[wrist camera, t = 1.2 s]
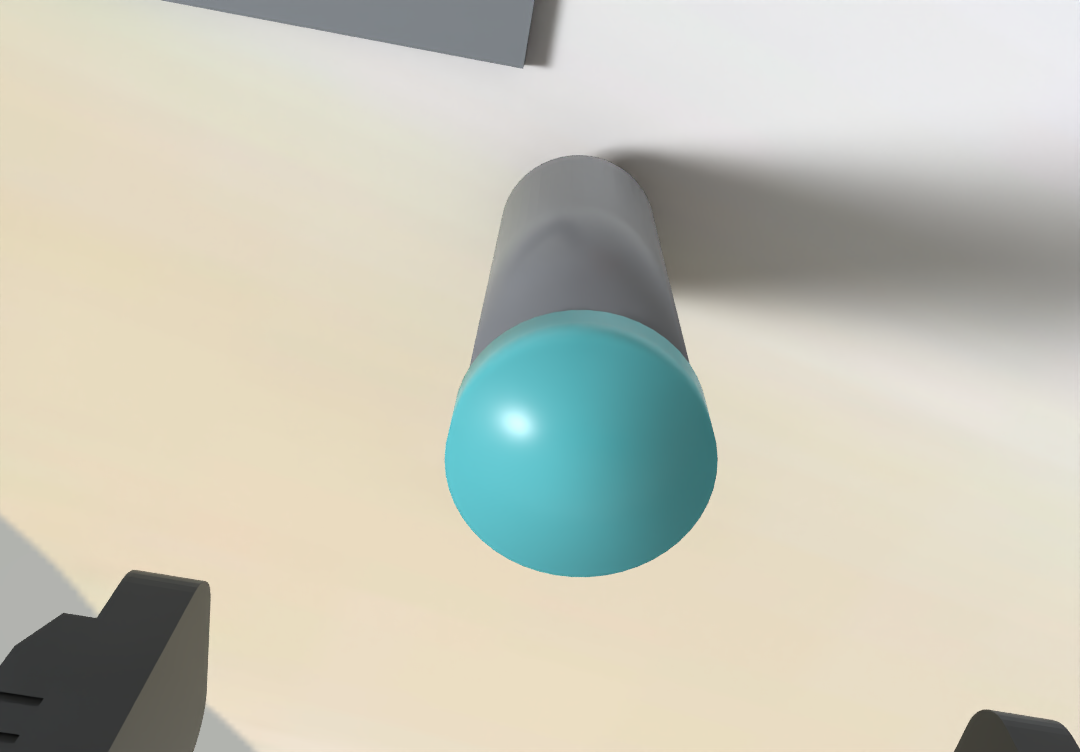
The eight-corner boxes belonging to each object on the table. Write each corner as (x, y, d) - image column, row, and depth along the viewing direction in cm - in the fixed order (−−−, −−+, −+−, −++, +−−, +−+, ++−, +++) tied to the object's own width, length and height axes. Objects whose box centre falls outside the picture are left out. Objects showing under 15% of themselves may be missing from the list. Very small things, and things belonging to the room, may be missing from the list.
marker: (513, 126, 25) (465, 319, 14) (670, 155, 25) (748, 370, 14) (488, 275, 27) (428, 554, 15) (636, 301, 27) (680, 595, 16)
